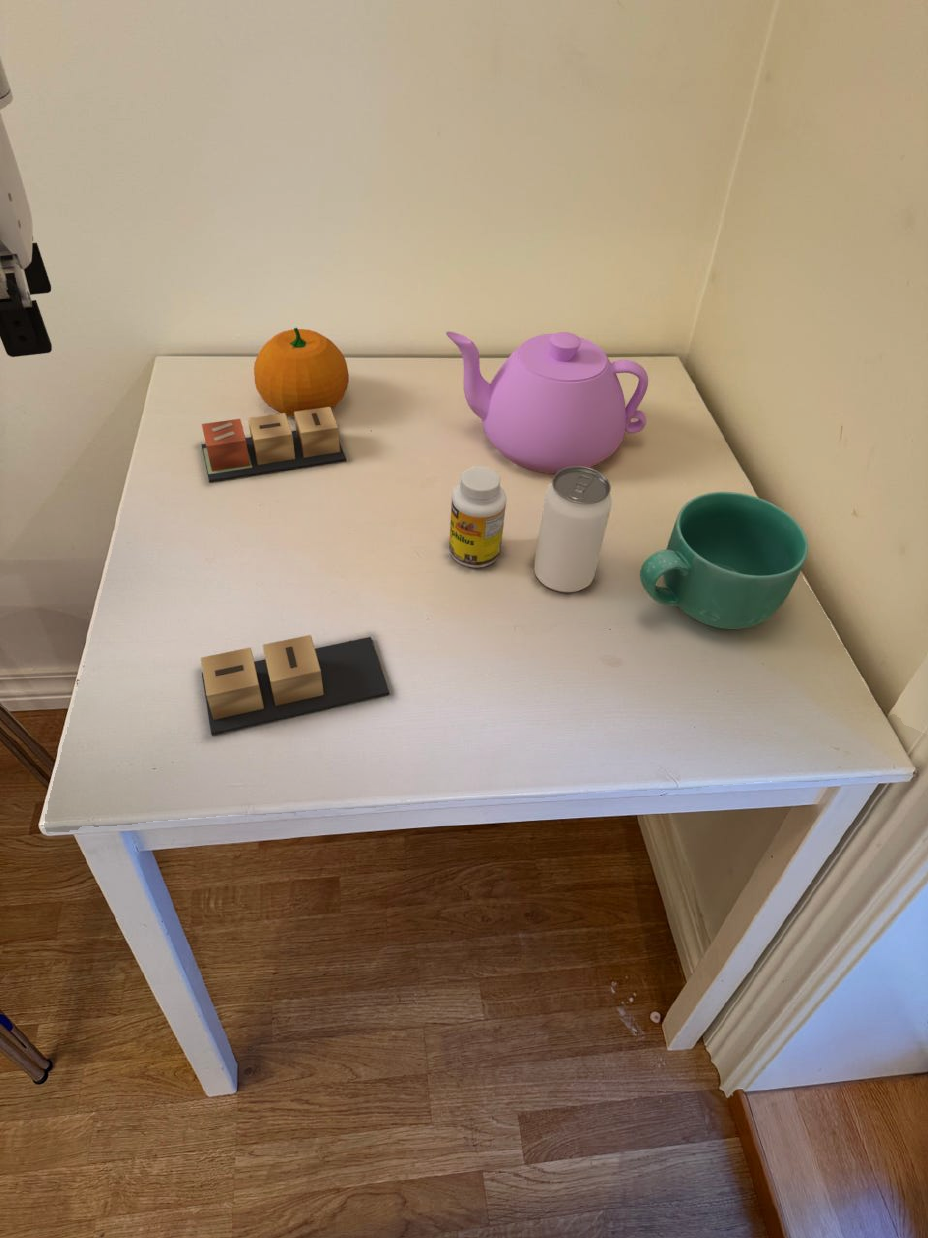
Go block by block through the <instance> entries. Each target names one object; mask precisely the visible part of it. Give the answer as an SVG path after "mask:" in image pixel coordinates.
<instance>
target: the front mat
mask: <svg viewBox="0 0 928 1238" xmlns="http://www.w3.org/2000/svg"><path fill="white" fill-rule="evenodd" d="M314 648H315V647H314ZM315 651H316V655H317V659H318V662H319V666H320V670H321V676H322V684H323V692H324V695H322V696H318V697H313V698H309V699H304V700H300V701H296V702H291V703H287V704H282V705H278V706H275V702H274V698H273V693H272V689H271V684H270V680H269V675H268V671H267V666H266V661H265V658H264V659H260V660H254V663H255V668H256V672H257V677H258V682H259V687H260V691H261V696H262V701H263V706H264V709H260V710H256V711H252V712H247V713H243V714H238V715H234V716H230V717H225V718H221V719H216V720H214V719H213V716H212V712H211V709H210V706H209V702H208V699H207V695H206V689H205V683H204V676H203V671H202V672H201V677H202V685H203V690H204V696H205V703H206V704H205V705H206V710H207V715H208V716H207V717H208V722H209V728H210V735H211V736H216V735H221V734H225V733H230V732H235V731H238V730H242V729H246V728H251V727H255V726H261V725H264V724H268V723H269V724H270V723H272V722H277V721H282V720H286V719H290V718H294V717H299V716H303V715H309V714H311V713H316V712H321V711H325V710H329V709H333V708H338V707H342V706H346V705H351V704H356V703H360V702H364V701H367V700H372V699H377V698H382V697H386V696H389V695H390V690H389V687H388V683H387V680H386V678H385V674H384V671H383V669H382V666H381V663H380V660H379V656H378V654H377V651H376V648H375V645H374V642H373V640H372V636H367V637H362V638H358V639H354V640H348V641H344V642H340V643H333V644H329V645H324V646H321V647H316V648H315Z"/></svg>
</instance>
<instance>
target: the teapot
mask: <svg viewBox="0 0 928 1238" xmlns="http://www.w3.org/2000/svg"><path fill="white" fill-rule="evenodd" d="M445 335H446V336H447V337H448V338H449V339H450V341H451V342H453V343H454V344H455V345H456V346H457V348H458V350H459V352H460V353H461V356H462V362H463V394H464V398H465V401H466V403H467V405H468V407H469V409H470V410H471V411H472V413H474V414H475V415H476V416H477V417H478V418H479V419H480V420H481V424H482V428H483V431H484V434H485V436H486V438H487V439H488V441H489V442H490V443H491V444H492V446H493V447H494V448H495V449H497V451H498V452H499V453H500V454H501V455H502V456H504V457H505V458H506V460H509V461H510V462H512V463H513V464H515V465H517V466H519V467H522V468H524V469H527V470H529V471H533V472H536V473H542V474H551V475H555V474H556V473H557V472H558V471H560V470H561V469H564V468H567V467H572V466H582V467H588V468H593V467H594V466H596V465H598V464H601V462H603V461H605V460H607V458H609V457H611V456H612V455H613V454H614V453H615V452H616V451H617V450H618V448H619V446H620V445H621V443H622V442H623V440H624V437H625V433H627V434H631V435H632V434H633V435H635V434H637V433H640V432H641V431H642V430H644V428H645V426H646V424H647V417H646V414H645V413H644V412H643V411H642V410H639V409H638V408H639V406H640V405H641V403H642V401H643V399H644V397H645V396H646V394H647V393H646V392H647V391H648V386H649V375H648V373H647V370H646V369H645V368H644V366H642V365H641V364H640V363H638V362H637V361H634V360H630V359H618V360H614V361H613V362H611V360H610V359H609V357H608V356H607V353H606V352H605V351H604V350H603V349H602V348H601V347H600V346H598V344H596V343H595V342H593V341H591V340H589V339H587V338H584V337H581V336H578V335H576V333H575V334H574V333H573V332H569V331H557V332H555V333H543V334H539V335H536V336H533V337H531V338H529V339H526V340H525V341H524V342H522V343H521V344H520V345H519V346H518V347H517V348H516V349H515V350H514V351H513V352H512V353H511V354H510V356H509V357H508V358H507V359H506V360H505V361H504V362H503V364H502V365H501V366H500V368H499V369H498V370H497V371H496V373H495V374H494V376H493V378H492V380H491V382H488V381H487V380H486V379H485V378H484V377H483V376H482V372H481V366H480V365H481V364H480V352H479V349H478V347H477V346H476V344H475V343H474V341H473V340H471V339H470V338H468V337H467V336H465V335H464V334H461V333H457V332H455V331H446V332H445ZM617 374H631V375H634V376H635V377H637V378H638V383H637V385H636V389H635V390H634V393H633V394H632V396H631V398H630V400H629V401H628V403H627V404H626V400H625V396H624V392H623V388H622V385H621V382H620V380H619V378H618V375H617ZM632 419H637V420H636V421H631V420H632Z"/></svg>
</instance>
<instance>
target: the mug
mask: <svg viewBox="0 0 928 1238" xmlns="http://www.w3.org/2000/svg"><path fill="white" fill-rule="evenodd" d="M808 553H809V543H808V539H807V535H806V533H805V531H804V529H803V528H802V526H801V525H800V524H799V523H798V522H797V521H796V519H795V518H793V516H791V515H790V514H789V513H788V512H787V511H785V510H783V509H782V508H781V507H779V506H778V505H775V504H773V503H772V502H770V501H767V500H766V499H762V498H760V497H757V496H754V495H750V494H747V493H740V492H734V491H715V492H714V491H713V492H707V493H704V494H700V495H697V496H696V497H694V498H692V499H690V500H689V501H687V502H686V503H685V504H683V506H682V507H681V509H680V510H679V512H678V513H677V517H676V519H675V521H674V524H673V528H672V531H671V533H670V537H669V539H668V542H667V547H666V549H661V550H659V551H656V552H654V553H652V554H651V555H650V556H648V557H647V558H646V559H645V560H644V562H643V563H642V565H641V568H640V570H639V580H640V583H641V585H642V587H643V589H644V591H646V593H647V594H648V596H649V597H650V598H652V599H653V600H654V601H655V602H657V603H659V604H662V605H666V606H677V607H678V608H679V609H680V610H682V611H683V612H684V613H685V614H687V615H688V616H690V617H691V618H692V619H695V620H696V621H698V622H700V623H703V624H705V625H708V626H711V627H715V628H719V629H727V630H740V629H741V630H742V629H747V628H751V627H755V626H757V625H759V624H761V623H764V622H765V621H767V620H768V619H770V618H771V617H772V616H773V615H774V614H776V612H778V611H779V609H780V608H781V607H782V605H783V604H784V602H785V601H786V599H787V597H788V596H789V595H790V592H792V591H791V590H792V589H793V587H794V585H795V583H796V581H797V580H798V577H799V576H800V573H801V571H802V569H803V567H804V565H805V562H806V560H807V557H808ZM661 577H662V579H663V583H664V586H665V587H663V586H659V585H657V583H658V582H659V580H660V579H661Z"/></svg>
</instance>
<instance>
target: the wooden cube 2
mask: <svg viewBox="0 0 928 1238" xmlns="http://www.w3.org/2000/svg"><path fill="white" fill-rule="evenodd" d="M262 651H263V655H264V659H265V661H266V666H267V671H268V675H269V680H270V684H271V689H272V693H273V698H274V702H275V706H278V705H282V704H287V703H291V702H296V701H300V700H304V699H309V698H313V697H318V696H322V695H324V692H323V684H322V676H321V670H320V666H319V662H318V659H317V655H316V651H315V645H314V640H313V637H312V635H311V634H308V635H303V636H298V637H294V638H289V639H284V640H278V641H274V642H270V643H265V644H262Z"/></svg>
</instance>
